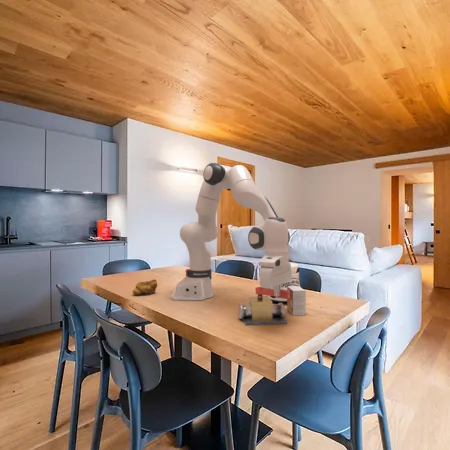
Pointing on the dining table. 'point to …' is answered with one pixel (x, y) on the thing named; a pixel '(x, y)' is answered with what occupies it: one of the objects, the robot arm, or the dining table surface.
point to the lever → (272, 292)
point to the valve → (262, 311)
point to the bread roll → (145, 287)
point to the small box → (296, 301)
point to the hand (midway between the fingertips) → (277, 296)
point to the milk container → (292, 282)
